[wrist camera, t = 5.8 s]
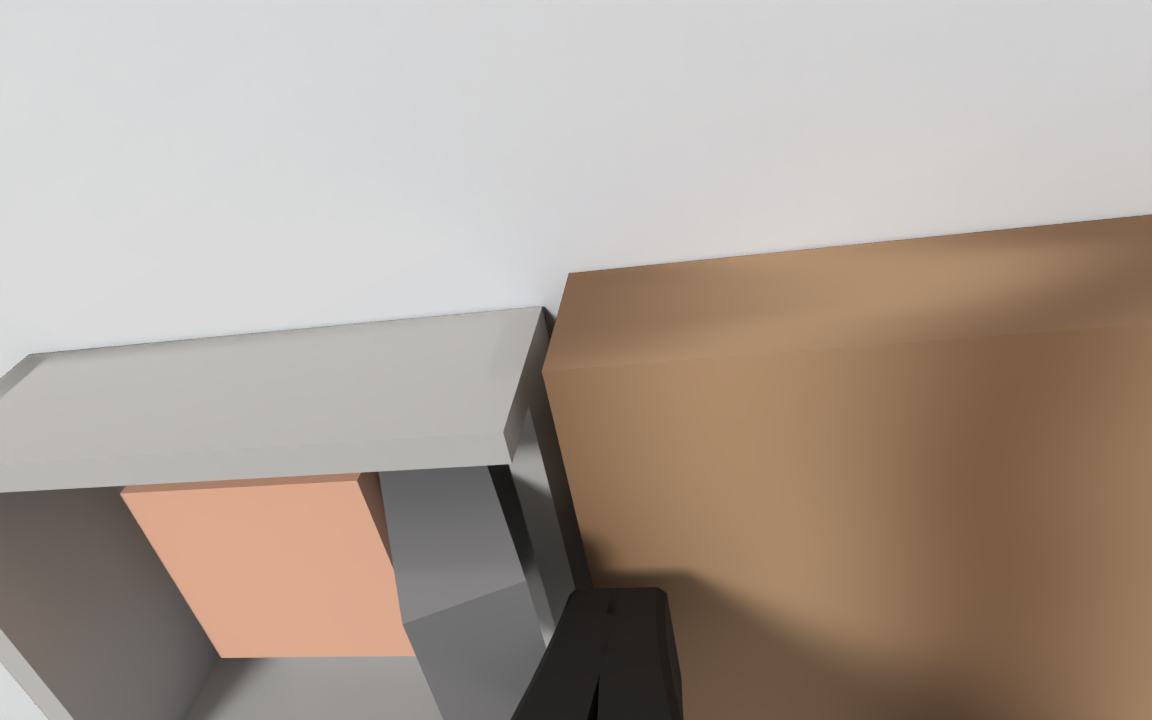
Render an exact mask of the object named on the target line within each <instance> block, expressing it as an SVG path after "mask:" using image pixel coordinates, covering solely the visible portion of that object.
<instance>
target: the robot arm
mask: <svg viewBox="0 0 1152 720" xmlns="http://www.w3.org/2000/svg"><path fill="white" fill-rule="evenodd" d="M510 720H684V717H683V701H682V678H681V672H680V666H679V661H678V655H677V649H676V643H675V638H674V632H673V626H672V620H671V614H670V609H669V603H668V597H667V593H666V592H664V591H663V590H661V589H660V588H658V587H636V588H596V589H576V590H574V591H573V592H572V593H571V594H570V595H569V597H568V600H567V602H566V605H565V607H564V610H563V612H562V615H561V617H560V619H559V622H558V624H557V626H556V629H555V631H554V633H553V635H552V638H551V640H550V642H549V644H548V646H547V649H546V651H545V653H544V655H543V657H542V659H541V661H540V663H539V665H538V667H537V669H536V671H535V673H534V675H533V678H532V680H531V682H530V684H529V685H528V687H527V689H526V691H525V693H524V695H523V697H522V699H521V701H520V702H519V704H518V706H517V708H516V710H515V712H514V714H513V716H512V718H511V719H510Z"/></svg>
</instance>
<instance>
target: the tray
mask: <svg viewBox="0 0 1152 720" xmlns="http://www.w3.org/2000/svg"><path fill="white" fill-rule="evenodd" d="M549 343H550V339H549V334H548V330H547V325H546V321H545V317H544V312H543V308H542V306H540V307H530V308H519V309H508V310H498V311H487V312H476V313H466V314H455V315H444V316H433V317H423V318H412V319H401V320H391V321H380V322H369V323H359V324H348V325H337V326H327V327H316V328H305V329H294V330H284V331H273V332H262V333H252V334H241V335H230V336H220V337H209V338H198V339H188V340H177V341H166V342H155V343H145V344H134V345H123V346H113V347H102V348H91V349H81V350H70V351H59V352H49V353H38V354H29V355H28V356H26V357H25V358H24V359H23V360H22V361H21V362H19V363H18V364H17V365H16V366H15V367H13V368H12V369H11V370H10V371H9V372H7V373H6V374H5V375H4V376H3V377H1V378H0V662H1V663H2V665H3V666H4V667H5V668H6V669H7V671H8V672H9V673H10V674H11V675H12V677H13V678H14V679H15V680H16V681H17V683H18V684H19V685H20V686H21V687H22V689H23V690H24V691H25V692H26V693H27V694H28V696H29V697H30V698H31V699H32V700H33V702H34V703H35V704H36V705H37V706H38V708H39V709H40V710H41V711H42V712H43V714H44V715H45V716H46V717H47V718H48V720H443V718H442V716H441V713H440V711H439V709H438V706H437V704H436V702H435V699H434V697H433V695H432V692H431V690H430V688H429V685H428V683H427V681H426V678H425V676H424V674H423V671H422V669H421V667H420V664H419V662H418V660H417V657H416V656H369V657H263V658H221V656H220V655H219V653H218V651H217V650H216V648H215V646H214V645H213V643H212V642H211V640H210V638H209V637H208V635H207V634H206V632H205V630H204V629H203V627H202V625H201V624H200V622H199V621H198V619H197V617H196V616H195V614H194V613H193V611H192V609H191V608H190V606H189V604H188V603H187V601H186V600H185V598H184V596H183V595H182V593H181V591H180V590H179V588H178V587H177V585H176V583H175V582H174V580H173V579H172V577H171V575H170V574H169V572H168V570H167V569H166V567H165V566H164V564H163V562H162V561H161V559H160V558H159V556H158V554H157V553H156V551H155V549H154V548H153V546H152V545H151V543H150V541H149V540H148V538H147V536H146V535H145V533H144V532H143V530H142V528H141V527H140V525H139V524H138V522H137V520H136V519H135V517H134V515H133V514H132V512H131V511H130V509H129V507H128V506H127V504H126V503H125V501H124V499H123V498H122V496H121V494H120V493H121V492H122V491H123V489H124V488H125V487H126V486H128V485H146V484H164V483H182V482H200V481H217V480H235V479H253V478H271V477H289V476H307V475H325V474H343V473H361V472H379V471H397V470H415V469H433V468H451V467H469V466H487V467H488V470H489V473H490V476H491V479H492V482H493V485H494V488H495V491H496V494H497V496H498V499H499V502H500V505H501V508H502V511H503V514H504V517H505V520H506V523H507V526H508V529H509V532H510V535H511V538H512V541H513V543H514V546H515V549H516V552H517V555H518V558H519V561H520V564H521V567H522V570H523V573H524V576H525V579H526V582H527V585H528V588H529V592H530V595H531V598H532V602H533V605H534V608H535V612H536V615H537V619H538V622H539V625H540V629H541V632H542V635H543V639H544V642H545V645H546V649H547V646H548V644H549V642H550V640H551V638H552V635H553V633H554V631H555V629H556V626H557V624H558V622H559V619H560V617H561V615H562V612H563V610H564V607H565V605H566V602H567V600H568V597H569V595H570V594H571V593H572V592H573V591H574V590H576V589H594V588H593V583H592V579H591V575H590V571H589V567H588V563H587V558H586V554H585V550H584V546H583V542H582V537H581V533H580V529H579V525H578V521H577V516H576V512H575V508H574V504H573V500H572V496H571V491H570V487H569V483H568V479H567V475H566V470H565V466H564V462H563V458H562V454H561V449H560V445H559V441H558V437H557V433H556V429H555V424H554V420H553V416H552V412H551V408H550V403H549V399H548V395H547V391H546V387H545V382H544V378H543V374H542V369H543V365H544V361H545V358H546V354H547V351H548V347H549Z"/></svg>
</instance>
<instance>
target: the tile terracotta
mask: <svg viewBox="0 0 1152 720" xmlns="http://www.w3.org/2000/svg"><path fill="white" fill-rule="evenodd" d="M120 494H121V496H122V498H123V499H124V501H125V503H126V504H127V506H128V507H129V509H130V511H131V512H132V514H133V515H134V517H135V519H136V520H137V522H138V524H139V525H140V527H141V528H142V530H143V532H144V533H145V535H146V536H147V538H148V540H149V541H150V543H151V545H152V546H153V548H154V549H155V551H156V553H157V554H158V556H159V558H160V559H161V561H162V562H163V564H164V566H165V567H166V569H167V570H168V572H169V574H170V575H171V577H172V579H173V580H174V582H175V583H176V585H177V587H178V588H179V590H180V591H181V593H182V595H183V596H184V598H185V600H186V601H187V603H188V604H189V606H190V608H191V609H192V611H193V613H194V614H195V616H196V617H197V619H198V621H199V622H200V624H201V625H202V627H203V629H204V630H205V632H206V634H207V635H208V637H209V638H210V640H211V642H212V643H213V645H214V646H215V648H216V650H217V651H218V653H219V655H220V656H221V658H263V657H369V656H416V655H415V653H414V650H413V648H412V646H411V643H410V641H409V639H408V636H407V634H406V632H405V629H404V627H403V625H402V619H401V613H400V606H399V600H398V593H397V587H396V580H395V574H394V568H393V561H392V555H391V548H390V542H389V535H388V529H387V523H386V516H385V510H384V503H383V497H382V490H381V484H380V477H379V472H361V473H343V474H325V475H307V476H289V477H271V478H253V479H235V480H217V481H200V482H182V483H164V484H146V485H128V486H126V487H125V488H124V489H123V491H122V492H121V493H120Z"/></svg>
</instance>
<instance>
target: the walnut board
mask: <svg viewBox="0 0 1152 720" xmlns="http://www.w3.org/2000/svg"><path fill="white" fill-rule="evenodd" d="M542 374H543V378H544V382H545V387H546V391H547V395H548V399H549V403H550V408H551V412H552V416H553V420H554V424H555V429H556V433H557V437H558V441H559V445H560V449H561V454H562V458H563V462H564V466H565V470H566V475H567V479H568V483H569V487H570V491H571V496H572V500H573V504H574V508H575V512H576V516H577V521H578V525H579V529H580V533H581V537H582V542H583V546H584V550H585V554H586V558H587V563H588V567H589V571H590V575H591V579H592V583H593V588H594V589H596V588H636V587H658V588H660V589H661V590H663V591H664V592H666V593H667V597H668V603H669V609H670V614H671V620H672V626H673V632H674V638H675V643H676V649H677V655H678V661H679V666H680V672H681V678H682V701H683V717H684V720H1152V215H1143V216H1133V217H1123V218H1113V219H1103V220H1093V221H1083V222H1073V223H1064V224H1054V225H1044V226H1034V227H1024V228H1014V229H1004V230H994V231H984V232H974V233H964V234H954V235H945V236H935V237H925V238H915V239H905V240H895V241H885V242H875V243H865V244H855V245H845V246H835V247H826V248H816V249H806V250H796V251H786V252H776V253H766V254H756V255H746V256H736V257H726V258H716V259H707V260H697V261H687V262H677V263H667V264H657V265H647V266H637V267H627V268H617V269H607V270H597V271H588V272H578V273H569V275H568V278H567V282H566V286H565V289H564V293H563V296H562V300H561V304H560V307H559V311H558V315H557V318H556V322H555V325H554V329H553V333H552V336H551V340H550V343H549V347H548V351H547V354H546V358H545V361H544V365H543V369H542Z"/></svg>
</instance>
